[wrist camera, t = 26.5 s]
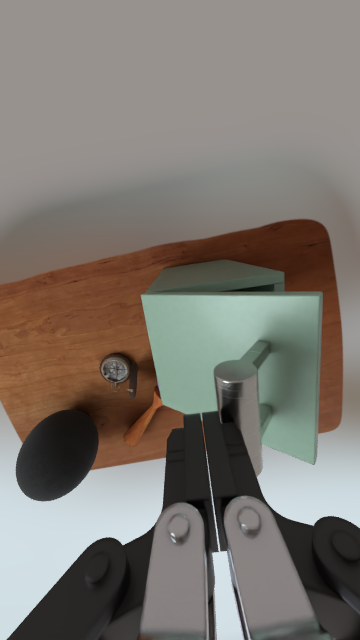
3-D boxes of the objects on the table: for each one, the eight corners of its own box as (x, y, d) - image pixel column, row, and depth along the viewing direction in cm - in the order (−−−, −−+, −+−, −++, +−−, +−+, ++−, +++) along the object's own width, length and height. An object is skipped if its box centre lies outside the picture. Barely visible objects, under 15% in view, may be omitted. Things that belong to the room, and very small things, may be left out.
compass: (100, 351, 44) (85, 371, 37) (142, 355, 44) (135, 374, 37) (100, 388, 46) (86, 412, 39) (140, 391, 46) (133, 416, 40)
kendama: (112, 441, 45) (164, 367, 39) (125, 420, 51) (172, 353, 44) (137, 458, 45) (193, 387, 39) (147, 436, 51) (197, 371, 44)
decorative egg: (107, 397, 47) (76, 462, 33) (108, 445, 51) (80, 523, 36) (46, 393, 47) (-13, 457, 32) (50, 442, 50) (-1, 519, 36)
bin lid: (323, 290, 10) (296, 331, 7) (317, 455, 13) (295, 550, 9) (147, 292, 18) (85, 312, 14) (167, 399, 20) (121, 440, 16)
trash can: (225, 259, 39) (284, 271, 17) (230, 313, 42) (286, 383, 20) (163, 268, 39) (144, 292, 18) (172, 321, 42) (165, 398, 20)
